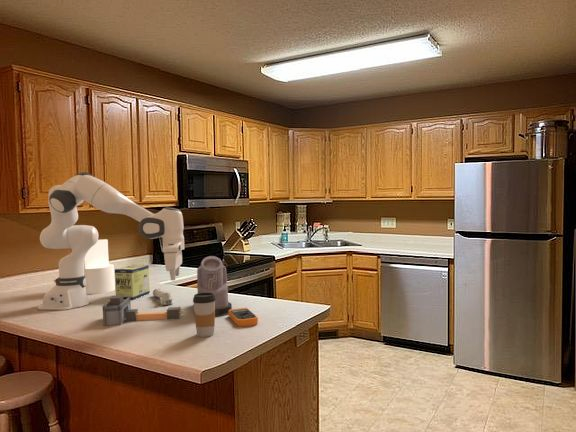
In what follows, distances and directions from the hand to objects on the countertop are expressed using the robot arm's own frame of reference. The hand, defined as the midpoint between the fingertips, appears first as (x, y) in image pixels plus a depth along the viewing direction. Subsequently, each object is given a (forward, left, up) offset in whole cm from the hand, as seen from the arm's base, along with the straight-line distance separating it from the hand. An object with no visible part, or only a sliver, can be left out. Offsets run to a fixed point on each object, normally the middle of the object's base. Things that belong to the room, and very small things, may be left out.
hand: (175, 278), depth 192 cm
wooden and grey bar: (-10, 0, -17) cm, 20 cm away
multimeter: (+28, -10, -18) cm, 35 cm away
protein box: (-30, +46, -17) cm, 57 cm away
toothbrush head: (-13, +33, -18) cm, 40 cm away
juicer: (+14, +12, -17) cm, 25 cm away
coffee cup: (+15, -26, -17) cm, 35 cm away
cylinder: (-54, +65, -17) cm, 86 cm away
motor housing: (-25, 0, -17) cm, 30 cm away
